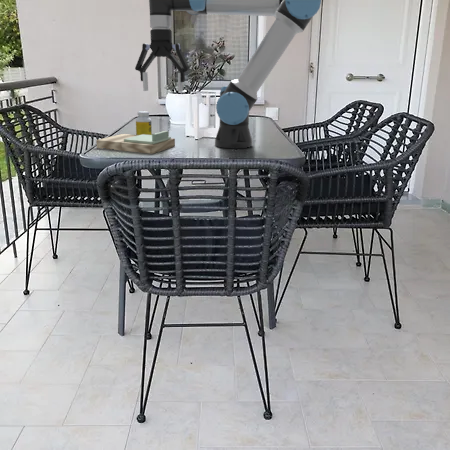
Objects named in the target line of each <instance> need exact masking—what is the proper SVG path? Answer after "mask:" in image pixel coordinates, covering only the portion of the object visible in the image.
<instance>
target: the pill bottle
mask: <svg viewBox="0 0 450 450" xmlns="http://www.w3.org/2000/svg"><path fill="white" fill-rule="evenodd" d="M149 116H150V112H149V111H147V110H146V111H144V110H143V111H137V118H135V135H142V134H145V135H152V134H153V133H152V132H153V131H152V118H150V117H149Z"/></svg>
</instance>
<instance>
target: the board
mask: <svg viewBox="0 0 450 450" xmlns="http://www.w3.org/2000/svg"><path fill="white" fill-rule="evenodd" d="M134 136H138V135H136V134H129V133H128V134H127V133H121V134H116V135H112V136H108V137H103V138H99V139H96V140H95V141H96V148H97V149H103V148H106V149H105V150H112V149H114V151H121V152H130V153H131V152H133V153H142V154H150V155H151V154H152V155H153V154H156V153H159V152H162V151H165V150H168V149H171V148H174V147H175V146H176V138H173V137H171V139H169V140H166V141H163V142H159V143H156V144H145V143H135V142H125V141H124V139H126V138H130V137H134Z"/></svg>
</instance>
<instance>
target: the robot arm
mask: <svg viewBox="0 0 450 450" xmlns="http://www.w3.org/2000/svg"><path fill="white" fill-rule="evenodd" d="M148 4H149V5H148V6H149V27H150V28H151V29H150V44H149V43H146V42H145V43H142V45H141V46H142V48H141V53H140V55H139V57H138V60H137V63H136V64H135V66H134V67H135V68H134V69H135V71H138V72H139V74H140V82H142V87H143V92H147V91H149V81H148V80H149V79H148V78H149V77H148V76H149V75H148V72H147V70H148V68H149V67H150V66H151V64H152V63H153V61H154V60H155V58H156V57H157V58H159V57H160V58H161V57H162V58H168V59H169V60H170V61H171V63H172V64H173V65H174V67H176V69H177V70H178V71H179V72H178V73H177V87H178V88H177V89H178V90H177V91H178V92H179V93H180V92H181V93H182V92H183V91H184V89H183V87H184V86H183V83H185V82H186V73H187V72H189V71H190V70H191V69H190V66H189V64H188V62H187V60H186V57H185V55H184V53H183V51H182V46H181V45H182V44H180V43H175V44H173V34H172V33H173V31H172V30H171V28H172V12H176V11H177V12H186V13H188V15H189V14H190V16H191V15H192V16H198V15H217V16H218V15H221V16H222V15H223V16H226V15H227V16H253V17H254V16H255V17H256V16H260V17H261V16H262V17H274V18H275V20H274V22H273V23H272V24H271V26H270V27H269V29H268V31H267V33H266V34H265V36H264V37H263V39H262V41H260V43H259V45H258V46H257V48H256V50H255V51H254V52H253V55H252V56H251V58H250V59H249V60H248V62H247V63H246V65H245V66H244V68H243V69H242V71H241V73H240V74H239V76H238V77H237V78H236V79H232V80H230V82H229V84H228V85H225V86H222V87H221V88H220V92H219V98H218V99H217V101H216V105H215V110H216V114H217V116H218V118H219V127H218V130H217V133H216V136H215V139H214V146H215V147H218V148H223V149H247V147H249V148H251V147H250V146H252V147H253V139H252V135H251V132H250V128H249V124H250V123H249V122H250V111H251V110H252V109H253V107H254V105H255V103H256V102H257V100H258V99H259V98H258V92H259V90H260V89H261V87H262V86H263V84H264V83H265V81H266V79H267V78H268V77H269V75H270V74H271V72H272V71H273V69H274V68H275V66H276V65H277V63H278V62H279V60H280V59H281V57H282V56H283V54H284V52H285V51H286V50H287V48H288V47H289V45H290V44H291V42H292V41H293V39H294V38H295V37H296V35H297V34H300V33H303V32H304V30H305V29H306V27H307V26H308V24H309V23H310V22H311V20H312V19H313V17H314V16H315V15H316V14H317V13H318V12H319V10H320V7H321V4H322V0H148ZM173 49H174V51H176V54H177V56H178V59H179V60H178V59H177V58H176V57H175V54H174V53H173V52H172V51H173ZM149 50H151V53H149V55H148V58H147V59H146V57H147V54H148V52H149ZM145 59H146V60H145ZM144 61H145V62H144Z"/></svg>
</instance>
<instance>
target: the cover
mask: <svg viewBox="0 0 450 450" xmlns="http://www.w3.org/2000/svg"><path fill="white" fill-rule="evenodd" d="M171 138H172V136H169V130H163V131H158V132H156V133H152V135H145V134H142V135H138V136H134V137H130V138H126V139H124V141H125V142H135V143H145V144H156V143H159V142H163V141H166V140H169V139H171Z"/></svg>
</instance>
